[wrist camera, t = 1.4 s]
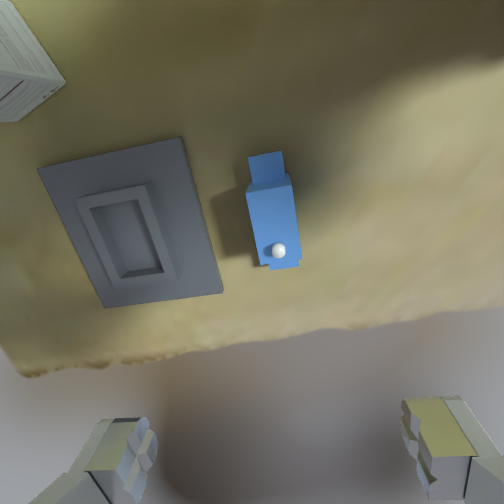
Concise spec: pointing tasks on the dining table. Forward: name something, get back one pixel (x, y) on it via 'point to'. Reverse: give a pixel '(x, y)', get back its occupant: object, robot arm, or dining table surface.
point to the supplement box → (22, 67)
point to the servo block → (273, 212)
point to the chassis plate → (136, 223)
